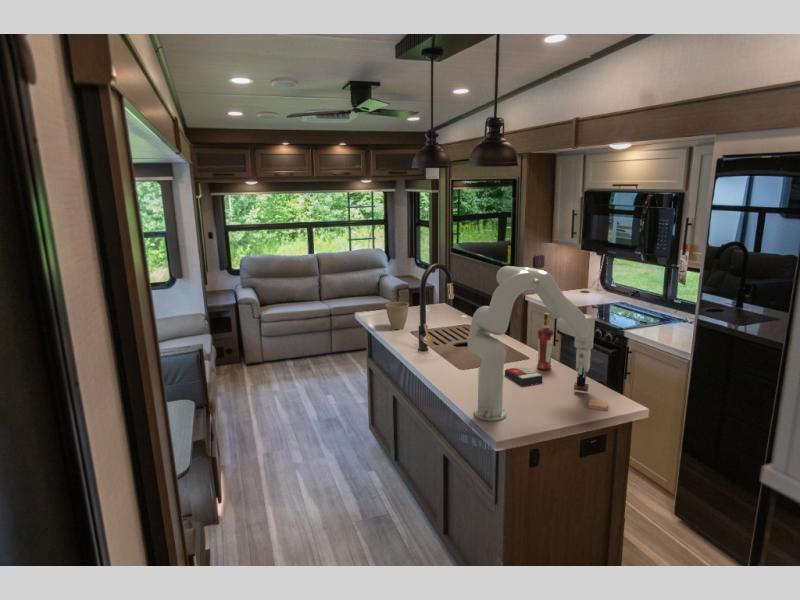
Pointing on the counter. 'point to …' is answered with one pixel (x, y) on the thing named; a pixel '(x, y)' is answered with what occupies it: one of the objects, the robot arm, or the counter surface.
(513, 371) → the calculator
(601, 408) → the tile
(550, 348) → the liquor
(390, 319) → the plant pot
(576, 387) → the tan stepped block
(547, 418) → the counter surface
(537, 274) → the robot arm
